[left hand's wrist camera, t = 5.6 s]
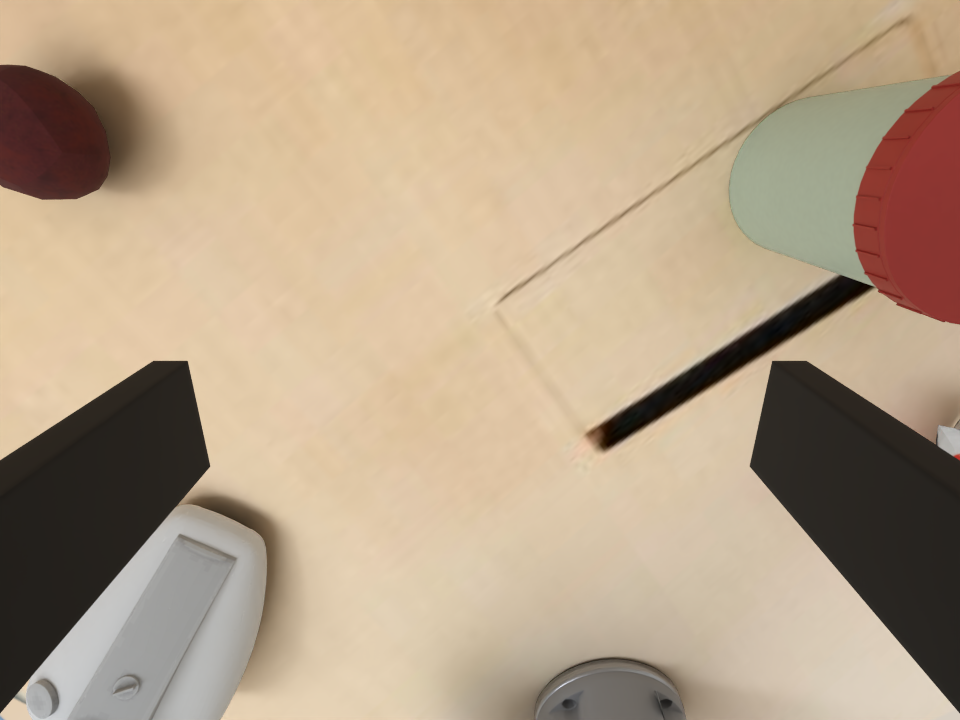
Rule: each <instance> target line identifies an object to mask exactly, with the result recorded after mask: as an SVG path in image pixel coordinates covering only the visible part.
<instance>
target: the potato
mask: <svg viewBox="0 0 960 720" xmlns="http://www.w3.org/2000/svg"><path fill="white" fill-rule="evenodd" d="M109 163H110V153H109V147H108V142H107V136H106V132H105V129H104V127H103V125H102V123H101V121H100V119H99V117H98V115H97V113H96V111H95V109H94V107H93V106H92V105H91V104H90V103H89V102H88V101H87V100H86V99H85V98H83V97H82V96H81V95H80V94H79V93H78V92H77V91H76V90H74V89H73V88H71V87H70V86H68V85H67V84H65V83H64V82H62V81H61V80H59V79H58V78H56V77H55V76H52V75H49V74H47V73H44V72H42V71H39V70H36V69H33V68H30V67H27V66H20V65H0V185H1V186H2V187H4V188H8V189H11V190H14V191H17V192H20V193H23V194H26V195H30V196H33V197H36V198H39V199H42V200H48V199H78V198H80V197H83V196H85V195H87V194H89V193H91V192H94V191H96V190H98V189H99V188H100V187H101V185H102V183H103V182H104V180H105V179H106V177H107V176H108V170H109Z"/></svg>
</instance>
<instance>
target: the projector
mask: <svg viewBox="0 0 960 720" xmlns="http://www.w3.org/2000/svg"><path fill="white" fill-rule="evenodd" d="M266 578H267V554H266V546H265V543H264V540H263V539H262V537H261V536H260V535H259V534H258V533H257V532H255V531H254V530H252V529H250V528H248V527H246V526H244V525H242V524H240V523H238V522H237V521H235V520H232V519H230V518H228V517H226V516H223V515H221V514H219V513H216V512H214V511H211V510H208V509H205V508H202V507H200V506H197V505H192V504H184V505H180V506H177V507H175V508H174V510H173V511H172V512H171V513H170V514H169V515H168V517H167V518H166V519H165V520H164V521H163V522H162V524H161V525H160V526H159V527H158V528H157V530H156V531H155V532H154V533H153V534H152V535H151V537H150V538H149V539H148V540H147V541H146V542H145V544H144V545H143V546H142V547H141V548H140V550H139V551H138V552H137V553H136V554H135V555H134V557H133V558H132V559H131V560H130V561H129V562H128V564H127V565H126V566H125V567H124V568H123V569H122V571H121V572H120V573H119V574H118V575H117V577H116V578H115V579H114V580H113V581H112V582H111V584H110V585H109V586H108V587H107V588H106V589H105V591H104V592H103V593H102V594H101V595H100V597H99V598H98V599H97V600H96V601H95V602H94V604H93V605H92V606H91V607H90V608H89V609H88V611H87V612H86V613H85V614H84V615H83V617H82V618H81V619H80V620H79V621H78V622H77V624H76V625H75V626H74V627H73V628H72V629H71V631H70V632H69V633H68V634H67V635H66V636H65V638H64V639H63V640H62V641H61V642H60V644H59V645H58V646H57V647H56V648H55V649H54V651H53V652H52V653H51V654H50V655H49V656H48V658H47V659H46V660H45V661H44V662H43V664H42V665H41V666H40V667H39V668H38V669H37V671H36V672H35V673H34V674H33V675H32V676H31V678H30V680H29V683H28V687H27V692H26V705H27V710H28V712H29V714H30V716H31V718H32V720H220V719H221V718H222V716H223V714H224V713H225V711H226V709H227V707H228V705H229V703H230V701H231V699H232V698H233V696H234V694H235V692H236V689H237V687H238V685H239V683H240V681H241V678H242V676H243V674H244V672H245V669H246V667H247V664H248V661H249V659H250V656H251V653H252V650H253V647H254V644H255V641H256V637H257V634H258V630H259V626H260V622H261V617H262V612H263V606H264V599H265V590H266Z"/></svg>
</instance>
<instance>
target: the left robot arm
mask: <svg viewBox="0 0 960 720" xmlns="http://www.w3.org/2000/svg"><path fill="white" fill-rule="evenodd" d="M209 467H210V463H209V458H208V454H207V449H206V444H205V440H204V435H203V430H202V426H201V421H200V416H199V412H198V407H197V402H196V398H195V393H194V388H193V384H192V379H191V375H190V370H189V365H188V361H153V362H151V363H150V364H148V365H147V366H145V367H143V368H142V369H140V370H139V371H137V372H136V373H134V374H133V375H131V376H130V377H128V378H126V379H125V380H123V381H122V382H120V383H119V384H117V385H116V386H114V387H113V388H111V389H109V390H108V391H106V392H105V393H103V394H102V395H100V396H99V397H97V398H96V399H94V400H93V401H91V402H89V403H88V404H86V405H85V406H83V407H82V408H80V409H79V410H77V411H76V412H74V413H72V414H71V415H69V416H68V417H66V418H65V419H63V420H62V421H60V422H59V423H57V424H56V425H54V426H52V427H51V428H49V429H48V430H46V431H45V432H43V433H42V434H40V435H39V436H37V437H35V438H34V439H32V440H31V441H29V442H28V443H26V444H25V445H23V446H22V447H20V448H18V449H17V450H15V451H14V452H12V453H11V454H9V455H8V456H6V457H5V458H3V459H2V460H0V713H1V712H2V711H3V709H4V708H5V707H6V706H7V705H8V703H9V702H10V701H11V700H12V699H13V698H14V696H15V695H16V694H17V693H18V692H19V691H20V689H21V688H22V687H23V686H24V685H25V684H26V682H27V681H28V680H29V679H30V678H31V676H32V675H33V674H34V673H35V672H36V671H37V669H38V668H39V667H40V666H41V665H42V664H43V662H44V661H45V660H46V659H47V658H48V656H49V655H50V654H51V653H52V652H53V651H54V649H55V648H56V647H57V646H58V645H59V644H60V642H61V641H62V640H63V639H64V638H65V636H66V635H67V634H68V633H69V632H70V631H71V629H72V628H73V627H74V626H75V625H76V624H77V622H78V621H79V620H80V619H81V618H82V617H83V615H84V614H85V613H86V612H87V611H88V609H89V608H90V607H91V606H92V605H93V604H94V602H95V601H96V600H97V599H98V598H99V597H100V595H101V594H102V593H103V592H104V591H105V589H106V588H107V587H108V586H109V585H110V584H111V582H112V581H113V580H114V579H115V578H116V577H117V575H118V574H119V573H120V572H121V571H122V569H123V568H124V567H125V566H126V565H127V564H128V562H129V561H130V560H131V559H132V558H133V557H134V555H135V554H136V553H137V552H138V551H139V550H140V548H141V547H142V546H143V545H144V544H145V542H146V541H147V540H148V539H149V538H150V537H151V535H152V534H153V533H154V532H155V531H156V530H157V528H158V527H159V526H160V525H161V524H162V522H163V521H164V520H165V519H166V518H167V517H168V515H169V514H170V513H171V512H172V511H173V510H174V508H175V507H176V506H177V505H178V504H179V502H180V501H181V500H182V499H183V498H184V497H185V495H186V494H187V493H188V492H189V491H190V490H191V488H192V487H193V486H194V485H195V484H196V483H197V481H198V480H199V479H200V478H201V477H202V475H203V474H204V473H205V472H206V471H207V470H208V468H209ZM750 467H751V468H752V470H753V471H754V472H755V473H756V474H757V475H758V477H759V478H760V479H761V480H762V481H763V483H764V484H765V485H766V486H767V487H768V488H769V490H770V491H771V492H772V493H773V494H774V495H775V497H776V498H777V499H778V500H779V501H780V502H781V504H782V505H783V506H784V507H785V508H786V510H787V511H788V512H789V513H790V514H791V515H792V517H793V518H794V519H795V520H796V521H797V522H798V524H799V525H800V526H801V527H802V528H803V530H804V531H805V532H806V533H807V534H808V535H809V537H810V538H811V539H812V540H813V541H814V542H815V544H816V545H817V546H818V547H819V548H820V550H821V551H822V552H823V553H824V554H825V555H826V557H827V558H828V559H829V560H830V561H831V562H832V564H833V565H834V566H835V567H836V568H837V569H838V571H839V572H840V573H841V574H842V575H843V577H844V578H845V579H846V580H847V581H848V582H849V584H850V585H851V586H852V587H853V588H854V589H855V591H856V592H857V593H858V594H859V595H860V597H861V598H862V599H863V600H864V601H865V602H866V604H867V605H868V606H869V607H870V608H871V609H872V611H873V612H874V613H875V614H876V615H877V617H878V618H879V619H880V620H881V621H882V622H883V624H884V625H885V626H886V627H887V628H888V629H889V631H890V632H891V633H892V634H893V635H894V636H895V638H896V639H897V640H898V641H899V642H900V644H901V645H902V646H903V647H904V648H905V649H906V651H907V652H908V653H909V654H910V655H911V656H912V658H913V659H914V660H915V661H916V662H917V664H918V665H919V666H920V667H921V668H922V669H923V671H924V672H925V673H926V674H927V675H928V676H929V678H930V679H931V680H932V681H933V682H934V684H935V685H936V686H937V687H938V688H939V689H940V691H941V692H942V693H943V694H944V695H945V696H946V698H947V699H948V700H949V701H950V702H951V703H952V705H953V706H954V707H955V708H956V709H957V711H958V712H959V713H960V460H958V459H957V458H955V457H954V456H952V455H951V454H949V453H948V452H946V451H945V450H943V449H942V448H940V447H938V446H937V445H935V444H934V443H932V442H931V441H929V440H928V439H926V438H925V437H923V436H921V435H920V434H918V433H917V432H915V431H914V430H912V429H911V428H909V427H908V426H906V425H904V424H903V423H901V422H900V421H898V420H897V419H895V418H894V417H892V416H891V415H889V414H888V413H886V412H884V411H883V410H881V409H880V408H878V407H877V406H875V405H874V404H872V403H871V402H869V401H867V400H866V399H864V398H863V397H861V396H860V395H858V394H857V393H855V392H854V391H852V390H851V389H849V388H847V387H846V386H844V385H843V384H841V383H840V382H838V381H837V380H835V379H834V378H832V377H830V376H829V375H827V374H826V373H824V372H823V371H821V370H820V369H818V368H817V367H815V366H813V365H812V364H810V363H809V362H807V361H772V365H771V370H770V375H769V379H768V384H767V388H766V393H765V398H764V402H763V407H762V412H761V416H760V421H759V426H758V430H757V435H756V440H755V444H754V449H753V454H752V458H751V463H750ZM535 720H686V716H685V712H684V707H683V704H682V701H681V699H680V696H679V693H678V691H677V689H676V687H675V686H674V684H673V683H672V682H671V681H670V679H669V678H667V677H666V676H665V675H664V674H663V673H661V672H660V671H658V670H656V669H655V668H652V667H650V666H648V665H645V664H642V663H639V662H634V661H629V660H617V659H611V660H599V661H593V662H589V663H585V664H581V665H578V666H576V667H573V668H571V669H569V670H567V671H565V672H563V673H562V674H560V675H558V676H557V677H556V678H554V679H553V680H552V681H551V682H550V683H549V684H548V685H547V686H546V687H545V688H544V690H543V691H542V692H541V694H540V696H539V697H538V700H537V702H536V706H535Z"/></svg>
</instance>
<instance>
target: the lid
mask: <svg viewBox="0 0 960 720" xmlns="http://www.w3.org/2000/svg"><path fill="white" fill-rule="evenodd" d="M852 226H853V232H854V240H855V247H856V250H855V252H857V254H858V257H859V260H860V263H861V265H862V267H863V269H864V271H865V272H864V274H865V275H867V276H868V277H869V279H870V280H871V282H872V283H873V284H874V285H875V286H876V287H877V288H878V289H879V290H878V292H879V293H882V294H884V295H886V296H887V297H888V298H890V299H891V300H892V301H894V302H896V303H897V304H896V305H898V306H901V307H903V308H906V309H909V310H911V311H914V312H917V313H919V314H923V315H926V316H928V317H931V318H934V319H937V320H939V321H942V322H945V321H946V322H949V323H955V324H960V71H959V72H957V73H955V74H953V75H951V76H949V77H948V78H946V79H945V80H943V81H942V82H940V83H939V84H937V85H933V86H932V87H931V89H930V90H929V91H927V92H926V93H925V94H924V95H923V96H921V97H920V98H919V99H918V100H916V101H915V102H914V103H913V104H912V105H911V106H910V107H909V108H908V109H905V110H904V113H903V114H902V115H901V116H900V117H899V118H898V120H897V121H896V122H895V123H894V125H893V126H892V127H891V128H890V129H889V131H888V132H887V133H886V135H885V136H883V137H882V141H881V142H880V144H879V145H878V147H877V148H876V150H875V152H874V154H873V156H872V158H871V160H870V161H869V163H868V165H867V166H866V170H865V173H864V175H863V178H862V180H861V183H860V187H859V190H858V194H857V195H856V203H855V210H854V224H852Z"/></svg>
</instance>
